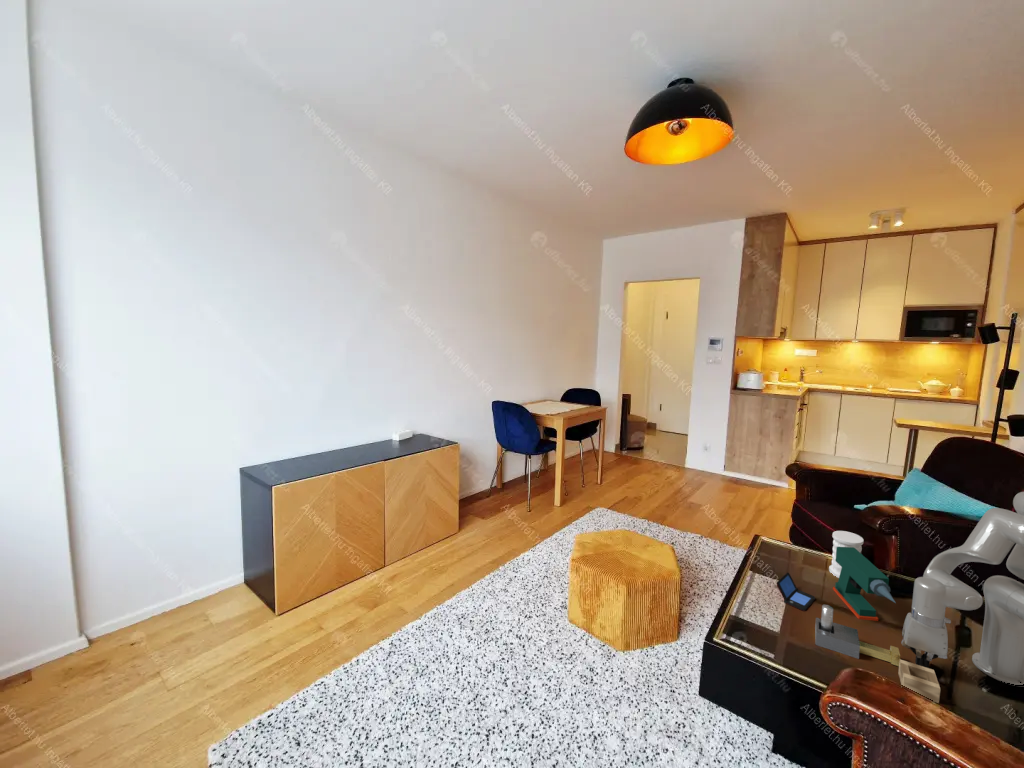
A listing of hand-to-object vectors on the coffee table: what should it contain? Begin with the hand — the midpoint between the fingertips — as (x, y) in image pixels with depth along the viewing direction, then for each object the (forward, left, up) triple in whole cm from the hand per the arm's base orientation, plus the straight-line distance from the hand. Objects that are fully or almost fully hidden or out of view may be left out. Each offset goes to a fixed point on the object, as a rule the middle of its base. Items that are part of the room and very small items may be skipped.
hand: (921, 667), depth 137 cm
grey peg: (+25, 0, -1) cm, 25 cm away
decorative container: (+17, -52, -1) cm, 55 cm away
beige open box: (+2, +9, -1) cm, 9 cm away
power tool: (+12, -23, -1) cm, 26 cm away
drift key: (+12, 0, -1) cm, 12 cm away
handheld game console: (+35, -21, -2) cm, 41 cm away
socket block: (+22, 0, -1) cm, 22 cm away
